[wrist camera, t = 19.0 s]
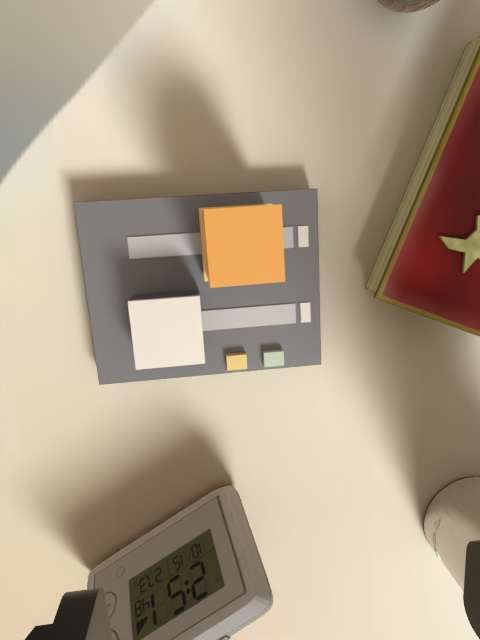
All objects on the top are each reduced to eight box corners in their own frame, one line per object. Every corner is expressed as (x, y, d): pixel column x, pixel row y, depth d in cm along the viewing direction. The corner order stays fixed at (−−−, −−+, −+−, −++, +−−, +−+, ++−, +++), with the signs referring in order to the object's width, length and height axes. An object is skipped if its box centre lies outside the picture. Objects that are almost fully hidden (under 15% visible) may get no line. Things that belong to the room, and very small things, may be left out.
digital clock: (238, 472, 40) (252, 558, 30) (272, 549, 42) (297, 655, 32) (72, 540, 40) (29, 651, 30) (115, 614, 42) (89, 742, 32)
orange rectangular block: (267, 207, 30) (281, 204, 25) (271, 272, 31) (285, 281, 26) (202, 211, 30) (203, 209, 25) (207, 277, 31) (210, 287, 26)
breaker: (140, 357, 35) (135, 369, 32) (133, 294, 34) (127, 301, 31) (204, 351, 35) (205, 363, 32) (199, 289, 34) (199, 295, 31)
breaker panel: (310, 190, 35) (319, 187, 33) (314, 357, 38) (323, 366, 36) (80, 203, 34) (71, 202, 31) (104, 376, 37) (97, 387, 34)
